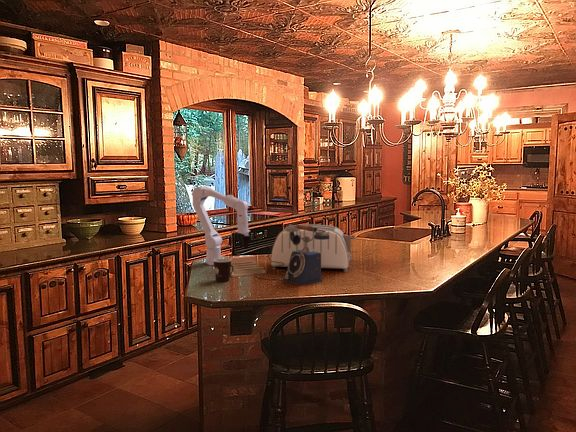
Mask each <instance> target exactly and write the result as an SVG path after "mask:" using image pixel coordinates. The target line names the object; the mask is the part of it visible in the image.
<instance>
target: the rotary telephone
mask: <svg viewBox="0 0 576 432" xmlns="http://www.w3.org/2000/svg"><path fill="white" fill-rule="evenodd" d="M295 225H296V226H295ZM306 225H307V224H285V225H283V226H281V227H280V228H279V230H278V232H277V234H276V236H275V239H274V241H273V243H272V246H271V248H270V249H269V252H268V256H267V257H268V260H269V261H270V263H271V262H274V261H271V257H270V254H271V252H272V249H273V245H274V243H275V240H276V238H277V236H278V234H279V233H280V232H281V229H282V228H283V227H285V228H284V229H285V231H287V232H290V240H291V241H292V242H293V244H294V245H298V244H299V243H300V241H301V239H302V240H303V241H304V242H305V247H304V248H303V249H302V250H295V251H292V254H291V257H290V261H289V264H288V267H286V271H285V269H280V268H279V269H277V268H278V267H279V266H282V265H279V266H275V267H276V271H282V272H277V273H276V275H280V274H283V273H285V275H284V276H283V277H282V280H283V281H282V280H281V279H278V278H263V280H267V281H270V280H271V281H274V280H275V281H276V280H277V281H279V282H281V284H288V283H289V284H293V285H295V286H298V287H301V286H306V285H307V286H308V285H312V284H317V283H322V282H323V279H324V278H322V268H321V253H319V252H315V251H311V249H310V248H309V247H308V244H307V243H308V242H310V241H312V240H313V238H314V239H319V240H325V239H329V235H328V232H326V231H325V230H319V229H317V228H316V227H312V226H306ZM299 229H301V230H307V231H314V233H315V232H316V231H317V232H316V233H315V235H314V233H313V237H312V239H310V238H309V237H308V236H304V237H301V233H300V230H299ZM297 231H299V235H300V236H299V235H294V232H297ZM276 263H282V262H276ZM283 265H284V263H283ZM272 268H274V267H272V266H271V267H270V268H268V269H267V270H266V273H267V274H269V275H274V273H272V272H271V271H274V269H272ZM255 278H257V279H259V280H262V278H261V277H258V274H255Z"/></svg>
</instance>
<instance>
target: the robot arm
mask: <svg viewBox="0 0 576 432" xmlns="http://www.w3.org/2000/svg"><path fill="white" fill-rule="evenodd" d="M191 195H192V196H191V197H192V207H193V209H194V211H195V213H196V216H197V218H198V220H199V222H200V225H201V227H202V229H203V232H204V234H205V235H204V240H205V246H206V248H207V249H206V261H205V260H204V262H205V264H207V265H208V266H214V261H213V260H215V259H222V255H221V254H222V253H221V250H222V249H221V247H222V246H221V245H222V244H223V238H222V236H221V235H220V234H219V232H218V231H217V230H215V228H214V226H213V224H212V221H211V219H210V217H209V214H208V212H207V209H206V208H205V206H204V203H205V201H206V200H207V199H208V197H211V198H215V199H217V200H219V201H222V202H223V204H224V205H225V206H227V207H230V208H232V209H235V211H236V221H237V234H235V236H236V238H237V240H238V243H239V246H240V247H241V248H242V247H243V249H249V243H250V240H251V237H252V236H251V235H250V234H249V233H250V232H251V230H250V229H249V220H248V217H249V216H248V209H249V207H250V206H249V203H248V202H247V201H246V200H244V199H243V200H241V198H237V197H235V196H234V195H233V194H228V195H225V194H223V193H221V192H219V191H217V190H215V189H213V188H211V187H208V186H207V185H206V186H205V185H204V186H200V187H199V186H197V187H195V188H194V189H193V190H192V192H191Z"/></svg>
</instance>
